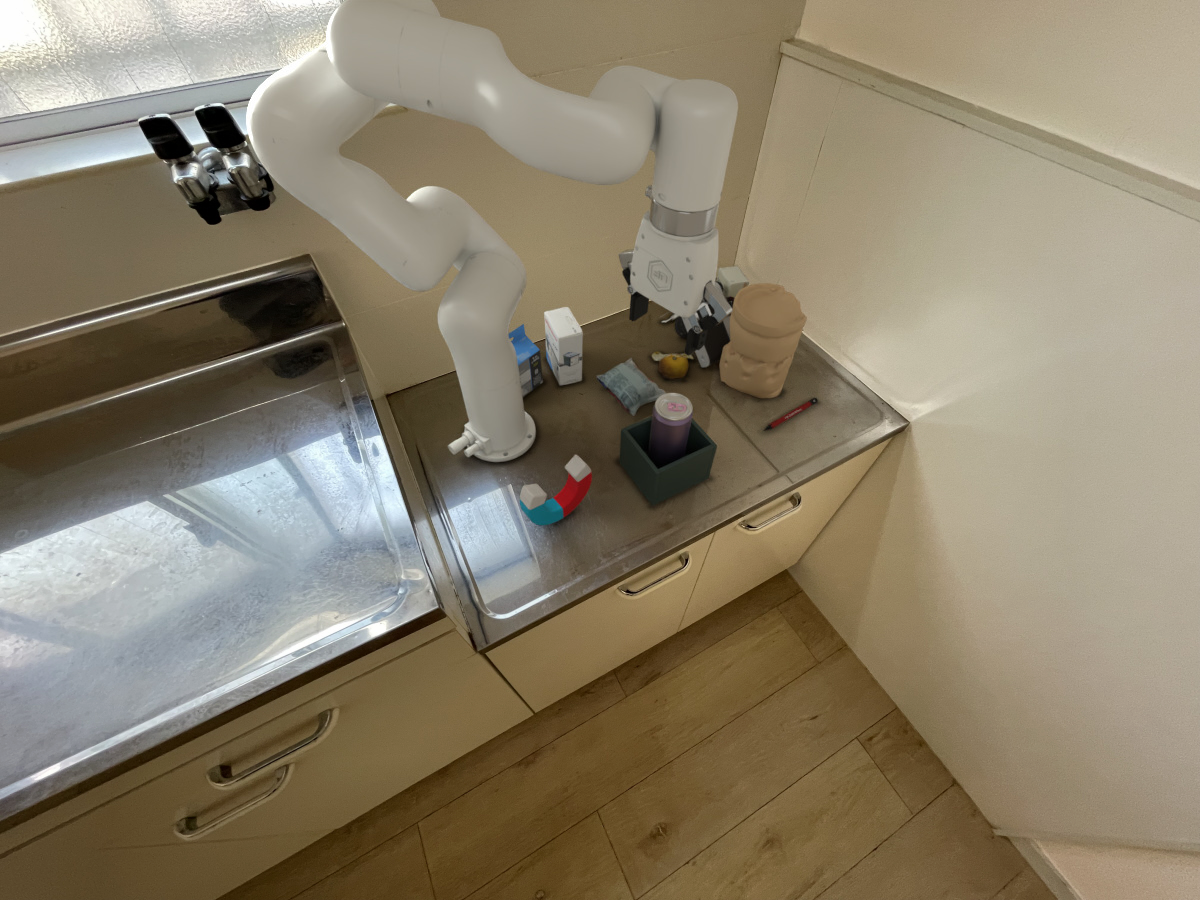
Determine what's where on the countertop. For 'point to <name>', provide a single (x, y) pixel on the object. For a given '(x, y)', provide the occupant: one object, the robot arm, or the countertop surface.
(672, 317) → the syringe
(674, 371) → the fruit
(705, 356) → the camera
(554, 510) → the magnet
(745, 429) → the countertop surface
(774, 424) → the pencil
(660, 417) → the beverage can
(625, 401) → the packaged food
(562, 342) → the ink box
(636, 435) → the waste bin
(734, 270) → the cosmetic box
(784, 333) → the container
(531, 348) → the blue cardboard box
